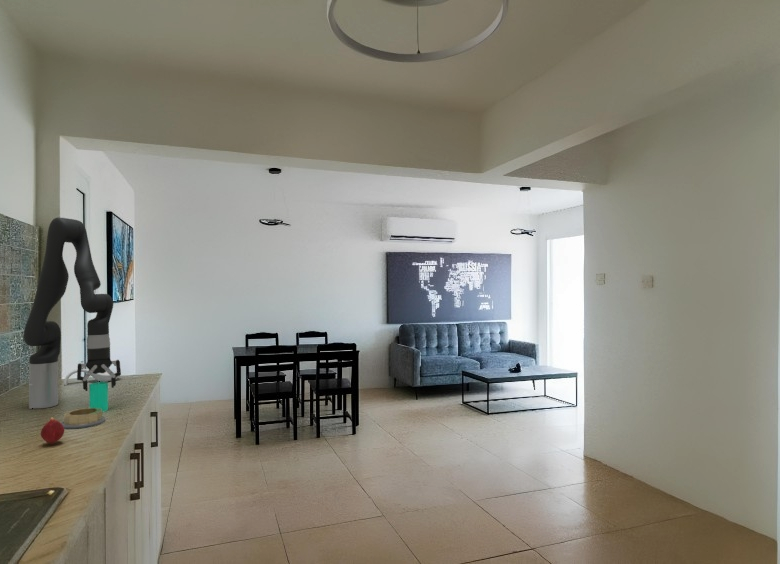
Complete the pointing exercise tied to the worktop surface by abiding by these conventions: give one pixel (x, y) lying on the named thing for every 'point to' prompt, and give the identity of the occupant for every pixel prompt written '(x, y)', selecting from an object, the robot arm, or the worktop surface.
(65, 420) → the collar
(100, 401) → the candle
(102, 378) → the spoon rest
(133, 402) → the worktop surface
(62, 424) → the dish
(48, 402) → the robot arm
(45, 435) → the onion
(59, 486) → the worktop surface
